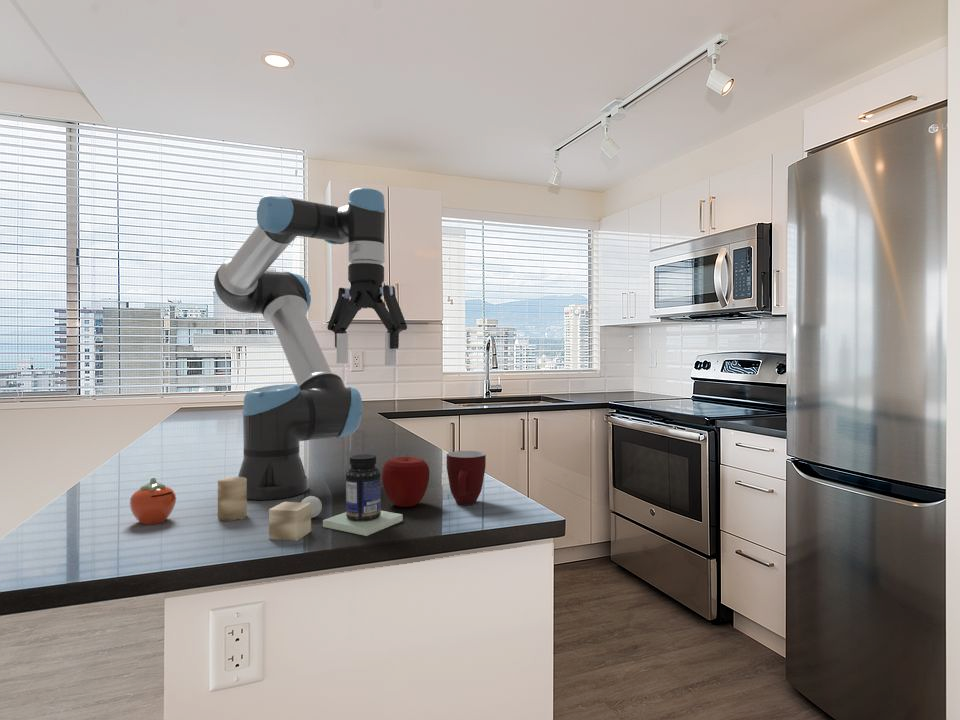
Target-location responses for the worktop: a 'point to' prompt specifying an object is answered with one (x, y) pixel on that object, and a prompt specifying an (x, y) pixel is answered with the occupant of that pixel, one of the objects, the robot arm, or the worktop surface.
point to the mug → (466, 475)
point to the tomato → (152, 503)
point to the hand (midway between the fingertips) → (365, 364)
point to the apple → (405, 480)
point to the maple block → (289, 521)
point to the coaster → (362, 523)
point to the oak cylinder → (232, 498)
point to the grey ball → (313, 505)
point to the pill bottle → (363, 488)
